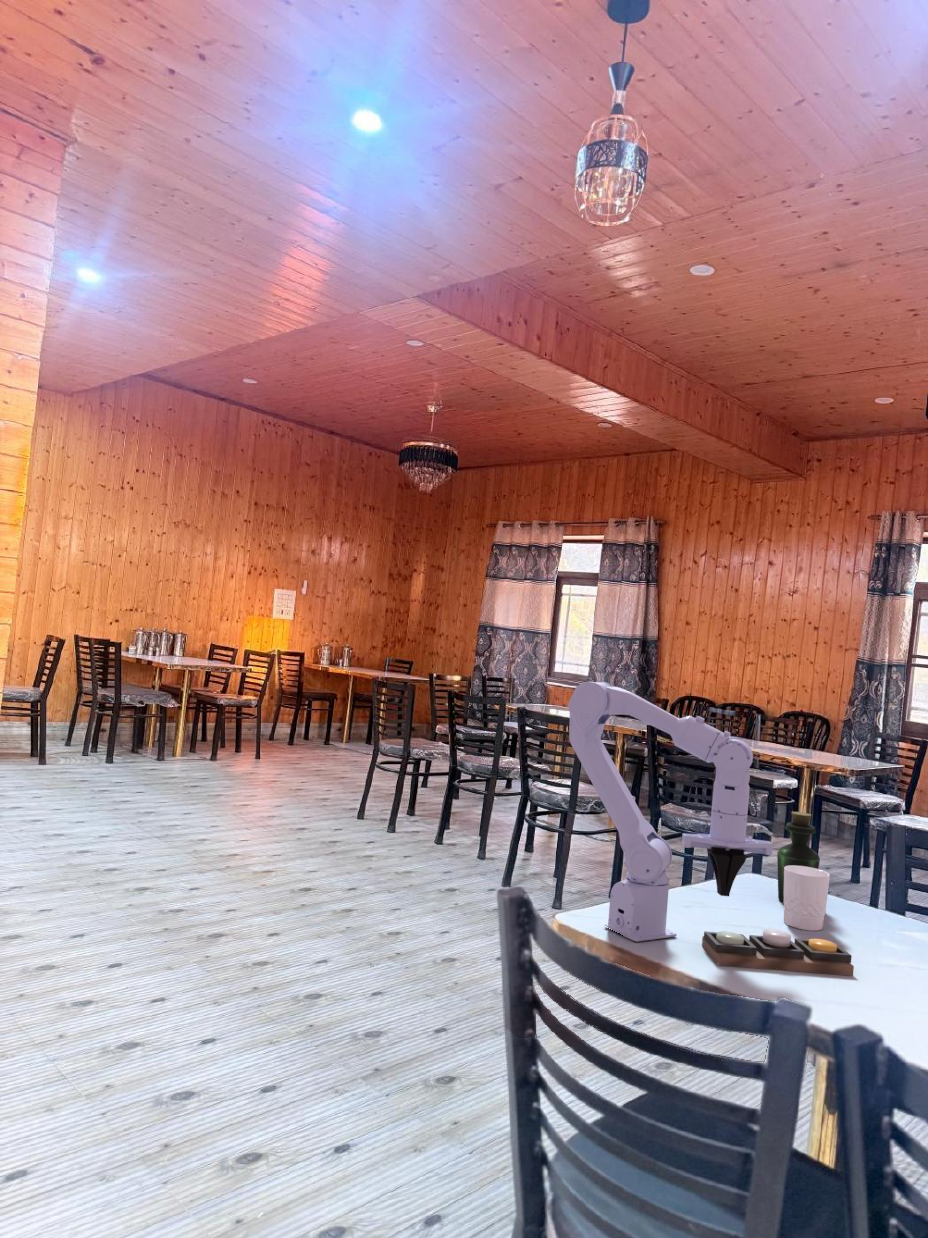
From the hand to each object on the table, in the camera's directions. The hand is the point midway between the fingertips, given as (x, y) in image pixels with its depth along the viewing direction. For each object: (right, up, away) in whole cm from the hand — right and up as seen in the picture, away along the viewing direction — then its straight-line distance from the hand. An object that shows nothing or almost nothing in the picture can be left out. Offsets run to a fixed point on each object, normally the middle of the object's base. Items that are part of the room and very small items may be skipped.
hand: (723, 894), depth 142 cm
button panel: (+7, -9, -4) cm, 12 cm away
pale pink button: (+7, -6, -4) cm, 11 cm away
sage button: (0, -7, -4) cm, 8 cm away
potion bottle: (+24, -12, +33) cm, 43 cm away
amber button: (+15, -8, -4) cm, 17 cm away
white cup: (+20, -11, +17) cm, 28 cm away
